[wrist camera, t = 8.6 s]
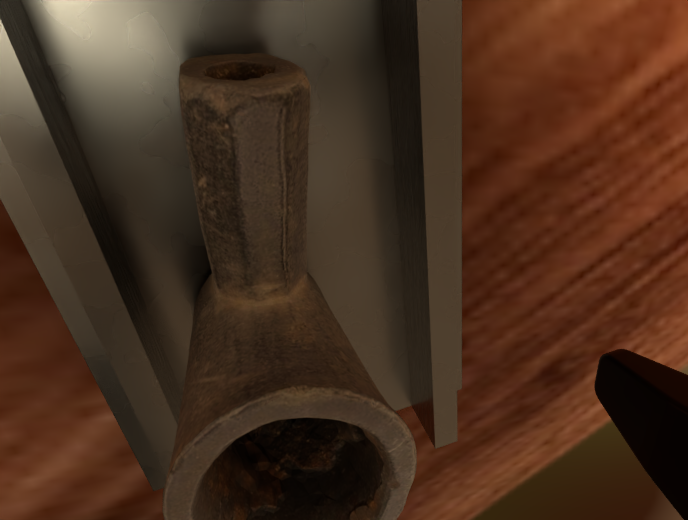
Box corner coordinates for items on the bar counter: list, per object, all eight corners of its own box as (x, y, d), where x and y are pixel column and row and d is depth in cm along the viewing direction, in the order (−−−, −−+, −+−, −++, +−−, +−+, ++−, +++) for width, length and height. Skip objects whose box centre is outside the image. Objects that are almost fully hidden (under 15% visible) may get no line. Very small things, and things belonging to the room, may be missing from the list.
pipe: (326, 40, 16) (456, 124, 9) (332, 374, 22) (409, 560, 16) (97, 54, 14) (54, 166, 7) (178, 407, 21) (193, 629, 14)
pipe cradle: (451, 374, 26) (508, 457, 22) (153, 471, 23) (154, 586, 19) (443, -245, 14) (567, -316, 10) (-179, -185, 11) (-365, -247, 7)
